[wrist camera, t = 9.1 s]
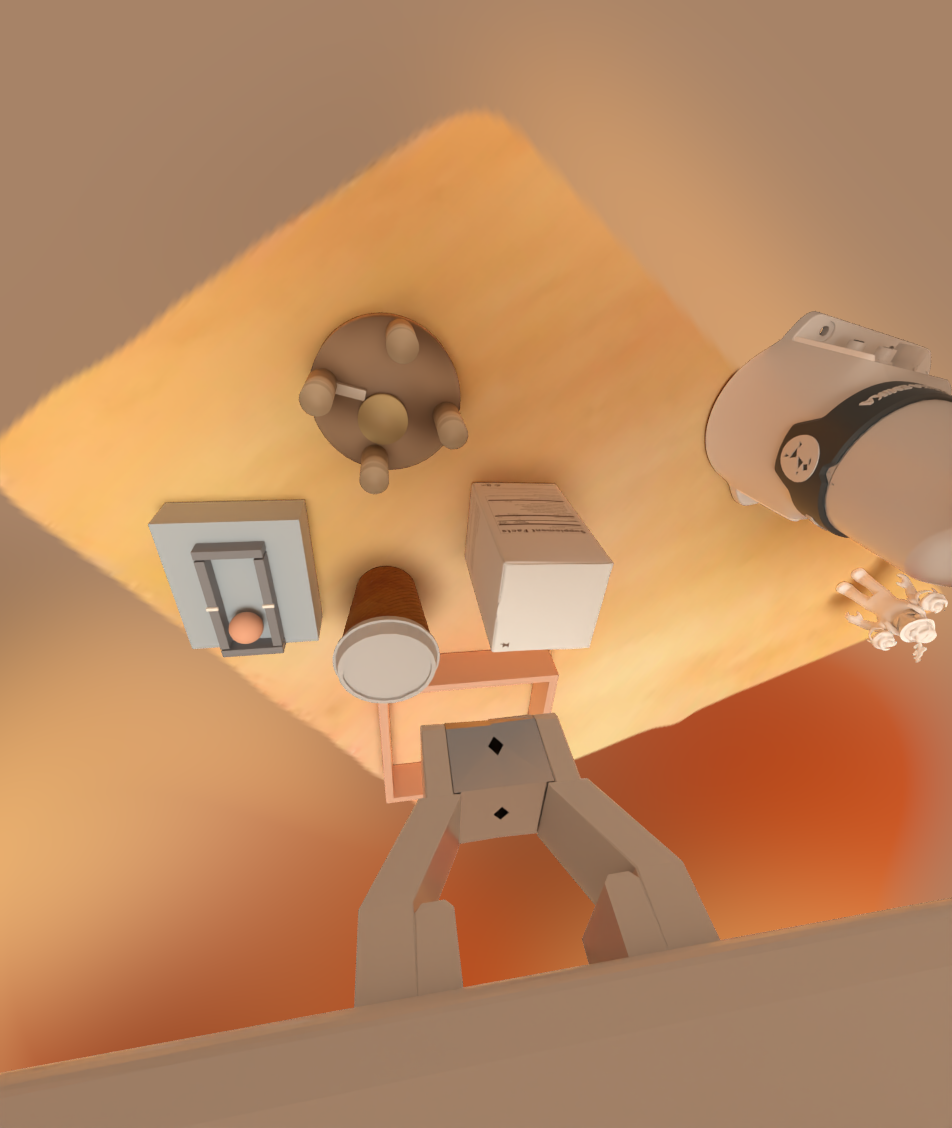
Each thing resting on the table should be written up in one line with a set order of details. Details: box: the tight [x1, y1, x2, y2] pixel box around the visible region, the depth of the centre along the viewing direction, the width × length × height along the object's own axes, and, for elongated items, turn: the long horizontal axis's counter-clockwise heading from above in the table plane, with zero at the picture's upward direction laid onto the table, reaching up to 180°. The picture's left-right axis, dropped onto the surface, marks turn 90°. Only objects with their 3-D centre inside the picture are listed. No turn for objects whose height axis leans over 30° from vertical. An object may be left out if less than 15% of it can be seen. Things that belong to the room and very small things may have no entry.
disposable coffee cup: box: [333, 566, 440, 703], centre depth 48 cm, size 10×10×12 cm
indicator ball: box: [229, 612, 264, 644], centre depth 46 cm, size 3×3×3 cm
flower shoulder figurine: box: [836, 568, 948, 662], centre depth 59 cm, size 9×4×12 cm, turn 145°
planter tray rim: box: [378, 649, 559, 803], centre depth 64 cm, size 21×22×5 cm
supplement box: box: [465, 483, 613, 652], centre depth 45 cm, size 9×9×15 cm
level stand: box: [148, 500, 322, 657], centre depth 46 cm, size 12×14×6 cm
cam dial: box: [299, 313, 468, 494], centre depth 39 cm, size 12×12×8 cm
